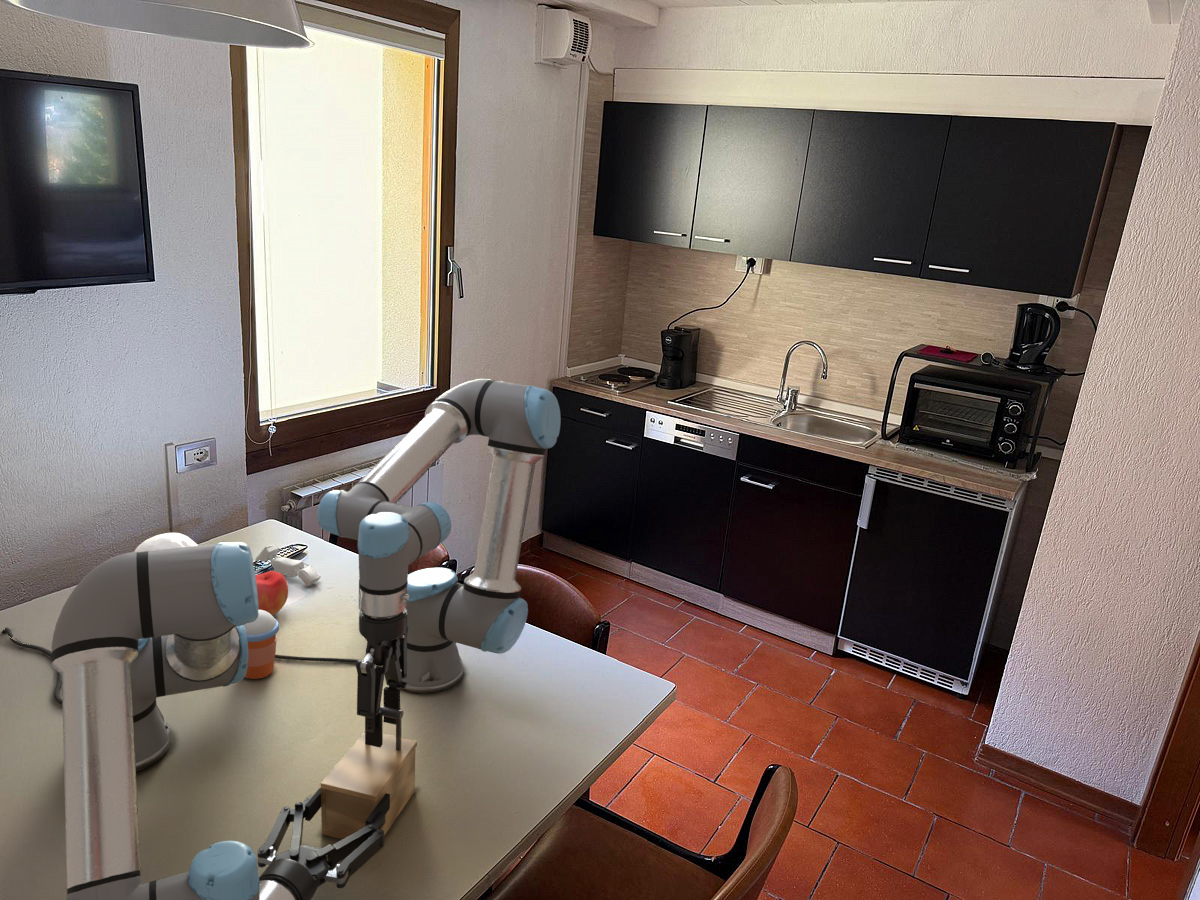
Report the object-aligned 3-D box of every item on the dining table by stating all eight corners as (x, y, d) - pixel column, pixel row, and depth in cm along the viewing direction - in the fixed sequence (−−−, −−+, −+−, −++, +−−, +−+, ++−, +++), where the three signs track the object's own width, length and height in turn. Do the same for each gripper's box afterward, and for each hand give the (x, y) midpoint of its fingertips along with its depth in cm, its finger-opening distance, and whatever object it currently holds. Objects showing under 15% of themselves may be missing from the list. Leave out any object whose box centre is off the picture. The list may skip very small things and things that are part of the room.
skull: (195, 618, 196) (192, 554, 192) (118, 599, 202) (114, 537, 198) (235, 596, 208) (233, 535, 204) (161, 578, 214) (158, 519, 210)
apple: (273, 600, 207) (272, 562, 204) (297, 613, 202) (296, 575, 199) (237, 614, 200) (234, 575, 197) (261, 628, 194) (259, 588, 191)
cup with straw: (265, 686, 173) (261, 607, 168) (224, 678, 175) (219, 599, 169) (289, 663, 182) (286, 587, 176) (250, 656, 183) (246, 580, 178)
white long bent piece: (253, 565, 223) (254, 542, 221) (265, 560, 226) (266, 537, 224) (309, 593, 215) (310, 569, 213) (320, 588, 218) (321, 564, 216)
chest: (364, 779, 150) (364, 736, 147) (414, 791, 148) (415, 747, 145) (321, 834, 137) (320, 788, 134) (376, 848, 135) (376, 801, 132)
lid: (366, 733, 148) (366, 691, 145) (417, 745, 146) (417, 702, 143) (320, 787, 134) (319, 742, 132) (376, 801, 132) (376, 755, 130)
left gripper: (206, 902, 119) (296, 797, 140) (350, 943, 115) (422, 828, 136) (202, 858, 117) (295, 758, 138) (350, 898, 112) (422, 789, 133)
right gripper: (376, 641, 126) (376, 773, 133) (429, 588, 144) (427, 706, 151) (331, 632, 128) (333, 762, 135) (388, 580, 145) (388, 698, 152)
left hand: (358, 793), depth 137 cm, fingers closed on chest, 9 cm apart
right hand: (383, 733), depth 143 cm, fingers open, 6 cm apart
